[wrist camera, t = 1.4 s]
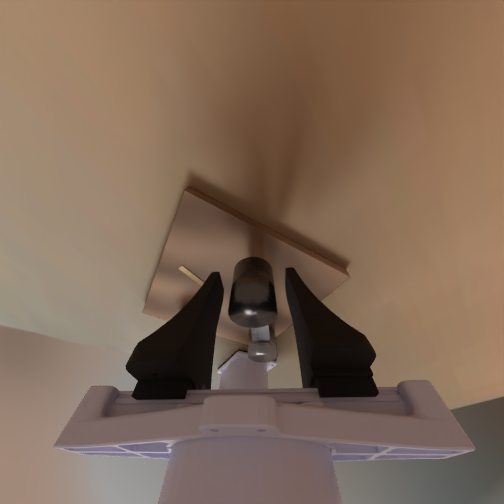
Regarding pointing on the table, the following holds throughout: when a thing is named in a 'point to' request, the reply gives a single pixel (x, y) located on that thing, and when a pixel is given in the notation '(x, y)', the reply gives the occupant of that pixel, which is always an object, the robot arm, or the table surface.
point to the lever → (255, 306)
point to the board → (229, 262)
